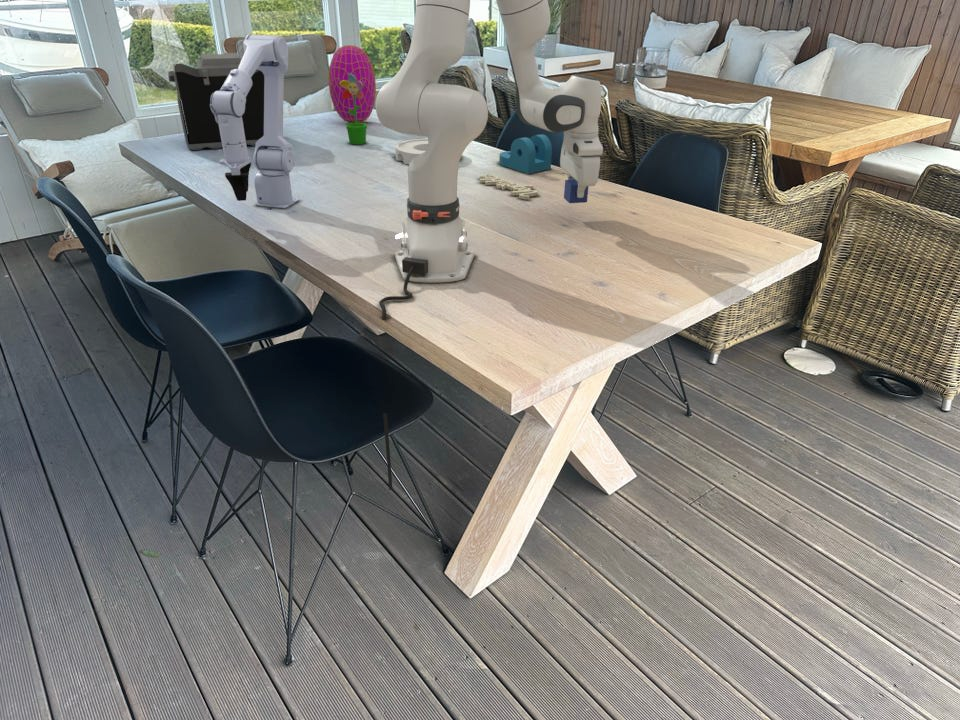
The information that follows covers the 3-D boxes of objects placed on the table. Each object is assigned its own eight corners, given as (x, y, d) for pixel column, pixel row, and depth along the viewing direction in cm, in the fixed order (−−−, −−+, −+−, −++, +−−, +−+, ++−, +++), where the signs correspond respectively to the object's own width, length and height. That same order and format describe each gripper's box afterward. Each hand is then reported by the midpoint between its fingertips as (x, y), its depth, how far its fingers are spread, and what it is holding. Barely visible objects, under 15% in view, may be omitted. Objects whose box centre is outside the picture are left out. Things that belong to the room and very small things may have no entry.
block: (580, 197, 189) (582, 179, 187) (587, 202, 185) (588, 184, 183) (563, 198, 188) (565, 179, 186) (569, 203, 184) (570, 184, 182)
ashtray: (454, 167, 232) (454, 155, 230) (388, 164, 235) (387, 152, 233) (466, 151, 252) (466, 140, 250) (404, 148, 255) (404, 137, 253)
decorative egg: (362, 116, 305) (357, 42, 290) (386, 123, 292) (382, 46, 277) (324, 121, 294) (316, 45, 279) (347, 129, 281) (340, 49, 266)
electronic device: (279, 131, 276) (269, 50, 261) (287, 144, 259) (276, 57, 243) (182, 138, 265) (165, 53, 250) (183, 151, 247) (164, 61, 232)
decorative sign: (550, 191, 207) (525, 197, 202) (550, 194, 207) (525, 200, 202) (495, 172, 225) (471, 176, 220) (495, 174, 225) (471, 179, 220)
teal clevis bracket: (550, 168, 233) (552, 137, 227) (527, 173, 227) (529, 141, 222) (515, 157, 245) (516, 127, 239) (493, 162, 239) (493, 131, 234)
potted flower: (342, 144, 260) (336, 73, 247) (351, 139, 266) (346, 70, 254) (365, 146, 257) (360, 74, 245) (374, 141, 264) (369, 71, 251)
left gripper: (219, 136, 176) (229, 188, 183) (213, 149, 164) (224, 205, 171) (248, 135, 177) (256, 187, 184) (244, 148, 165) (253, 203, 172)
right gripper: (556, 133, 187) (552, 183, 194) (582, 150, 170) (577, 205, 177) (578, 132, 188) (574, 182, 195) (605, 150, 171) (600, 204, 178)
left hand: (242, 195), depth 178 cm, fingers open, 7 cm apart
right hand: (575, 193), depth 186 cm, fingers closed on block, 5 cm apart
